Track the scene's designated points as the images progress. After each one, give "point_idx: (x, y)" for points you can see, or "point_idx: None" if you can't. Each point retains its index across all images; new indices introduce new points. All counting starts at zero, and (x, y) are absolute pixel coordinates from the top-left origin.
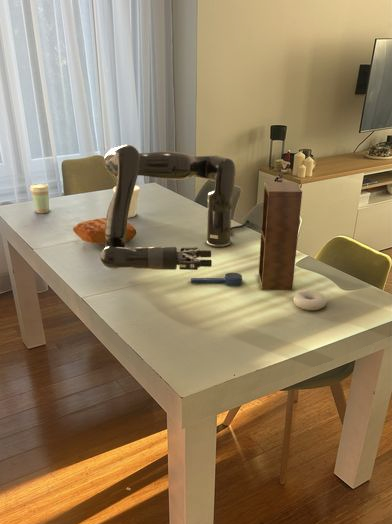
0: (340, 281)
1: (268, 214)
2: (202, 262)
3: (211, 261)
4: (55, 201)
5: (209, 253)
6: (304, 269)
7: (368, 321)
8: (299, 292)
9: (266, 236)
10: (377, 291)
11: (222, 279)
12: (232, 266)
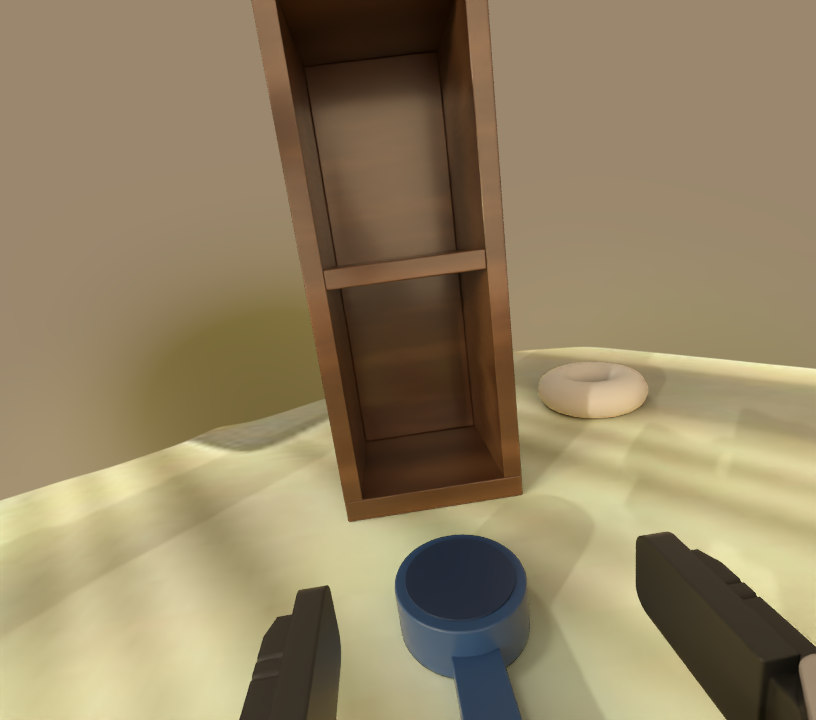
0: None
1: (491, 88)
2: (795, 633)
3: (664, 537)
4: None
5: (332, 622)
6: (301, 433)
7: (612, 354)
8: (581, 384)
9: (501, 219)
10: None
11: (488, 668)
12: (158, 659)
